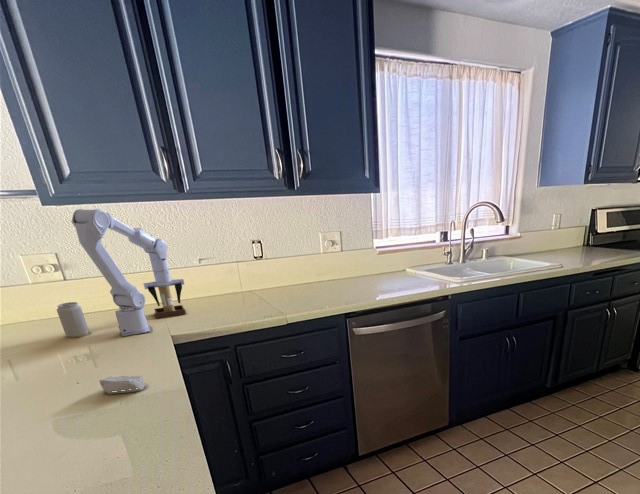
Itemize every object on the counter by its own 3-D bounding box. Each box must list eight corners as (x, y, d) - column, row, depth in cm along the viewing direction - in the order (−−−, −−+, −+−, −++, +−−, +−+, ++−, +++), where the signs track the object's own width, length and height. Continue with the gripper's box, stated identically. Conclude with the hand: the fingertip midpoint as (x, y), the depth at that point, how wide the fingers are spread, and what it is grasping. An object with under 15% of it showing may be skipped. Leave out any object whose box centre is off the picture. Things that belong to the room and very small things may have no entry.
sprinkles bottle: (176, 312, 183) (169, 281, 178) (165, 314, 181) (157, 282, 175) (174, 310, 187) (167, 279, 181) (163, 312, 185) (155, 281, 179)
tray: (157, 318, 178) (155, 313, 177) (155, 313, 186) (154, 308, 185) (185, 314, 183) (184, 309, 182) (183, 309, 190) (182, 304, 190)
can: (87, 330, 165) (76, 300, 160) (92, 334, 160) (81, 303, 155) (64, 335, 161) (53, 304, 155) (68, 339, 156) (57, 307, 151)
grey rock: (146, 397, 119) (149, 377, 118) (134, 402, 113) (139, 380, 112) (108, 388, 118) (112, 368, 117) (95, 392, 111) (99, 371, 111)
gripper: (179, 266, 175) (186, 299, 181) (140, 270, 169) (148, 304, 174) (181, 269, 169) (189, 303, 175) (140, 273, 163) (150, 308, 169)
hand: (169, 304), depth 174 cm, fingers open, 7 cm apart
